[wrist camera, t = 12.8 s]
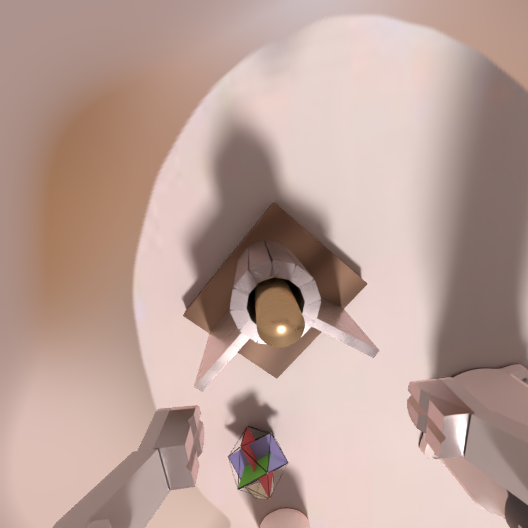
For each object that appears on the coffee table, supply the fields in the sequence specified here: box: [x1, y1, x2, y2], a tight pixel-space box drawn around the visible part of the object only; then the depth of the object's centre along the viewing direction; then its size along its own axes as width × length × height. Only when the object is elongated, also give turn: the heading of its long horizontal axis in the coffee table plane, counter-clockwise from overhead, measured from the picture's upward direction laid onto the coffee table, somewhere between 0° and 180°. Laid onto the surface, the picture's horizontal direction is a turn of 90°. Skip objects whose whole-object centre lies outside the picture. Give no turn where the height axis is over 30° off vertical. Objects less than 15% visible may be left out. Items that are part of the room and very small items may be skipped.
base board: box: [183, 203, 367, 378], centre depth 28 cm, size 14×16×2 cm
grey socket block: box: [194, 240, 379, 391], centre depth 23 cm, size 13×13×9 cm
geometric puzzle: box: [228, 425, 289, 500], centre depth 31 cm, size 7×7×8 cm
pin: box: [254, 277, 305, 348], centre depth 21 cm, size 3×3×12 cm
